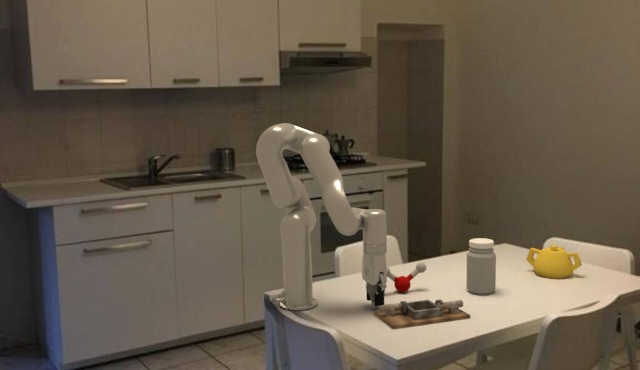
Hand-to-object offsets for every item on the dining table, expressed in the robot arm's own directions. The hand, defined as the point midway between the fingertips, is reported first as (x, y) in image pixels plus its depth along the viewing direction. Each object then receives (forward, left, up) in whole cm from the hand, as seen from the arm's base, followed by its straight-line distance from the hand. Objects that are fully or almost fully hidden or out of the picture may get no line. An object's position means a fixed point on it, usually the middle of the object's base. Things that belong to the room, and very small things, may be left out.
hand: (375, 302), depth 230 cm
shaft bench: (+10, -13, -2) cm, 17 cm away
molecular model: (+16, +13, -2) cm, 21 cm away
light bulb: (0, 0, -2) cm, 2 cm away
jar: (+41, +3, -2) cm, 41 cm away
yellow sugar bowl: (+79, +13, -2) cm, 80 cm away
